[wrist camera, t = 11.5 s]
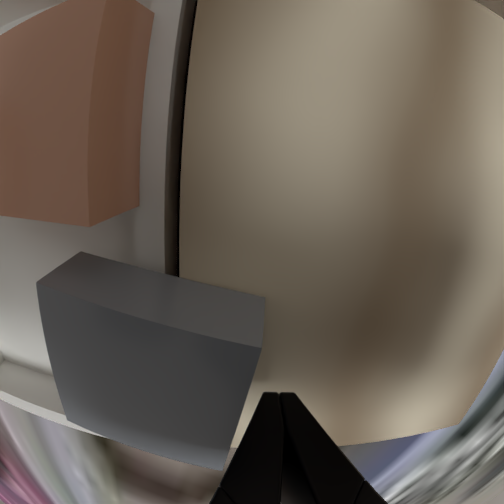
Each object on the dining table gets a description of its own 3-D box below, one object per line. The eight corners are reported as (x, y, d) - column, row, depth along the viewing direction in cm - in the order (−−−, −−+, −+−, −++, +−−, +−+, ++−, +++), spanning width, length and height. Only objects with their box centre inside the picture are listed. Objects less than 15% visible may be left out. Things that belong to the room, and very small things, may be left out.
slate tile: (265, 297, 7) (262, 348, 6) (229, 423, 9) (222, 470, 7) (80, 251, 7) (35, 282, 5) (92, 381, 9) (67, 420, 7)
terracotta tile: (154, 13, 6) (110, -16, 4) (139, 205, 7) (89, 227, 5) (27, 52, 6) (-17, 46, 4) (20, 197, 8) (-25, 212, 6)
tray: (201, -31, 6) (187, -74, 4) (184, 405, 12) (175, 451, 9) (-22, 30, 6) (-60, 23, 3) (5, 361, 11) (-18, 390, 9)
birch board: (522, 62, 7) (555, 59, 5) (442, 397, 12) (458, 423, 10) (217, -32, 6) (210, -66, 4) (196, 406, 12) (190, 443, 10)
